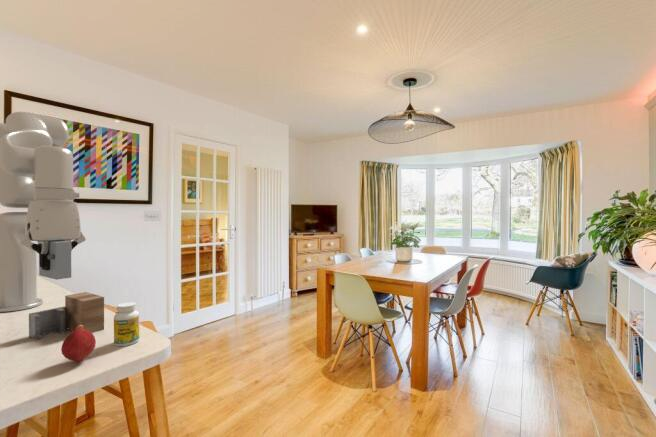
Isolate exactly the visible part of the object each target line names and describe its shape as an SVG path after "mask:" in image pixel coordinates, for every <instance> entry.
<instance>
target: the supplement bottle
mask: <svg viewBox="0 0 656 437" xmlns="http://www.w3.org/2000/svg"><path fill="white" fill-rule="evenodd" d="M136 309H137V304H136V302H133V301H131V302H130V301H128V302H127V301H126V302H122V303H119V304H117V305H116V311H117V312H116V313H115V314H114V316H113V344H114V346H115V347H129V346H131V345H133V344H136V343H138V342H139V341H140V312H139V311H138V310H136Z"/></svg>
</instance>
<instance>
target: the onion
mask: <svg viewBox="0 0 656 437" xmlns="http://www.w3.org/2000/svg"><path fill="white" fill-rule="evenodd" d="M95 348H96V337H95V335H94V333H91V332H89V331H87V330H85V329H83V325H79V326H78V327H77V328H76V329H75V330H74V331H71V332H70V333H68V335H67V336H65V338H64V340H63V342H62V345H61V349H60V350H61V354H62V356H63V357H64V358H65V359H67V360H70V361H72V362H76V363H82V362H83V361H84V360H85V359H86V358H87V357H89V355H91V354H92V352H93V351H94V350H95Z"/></svg>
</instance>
